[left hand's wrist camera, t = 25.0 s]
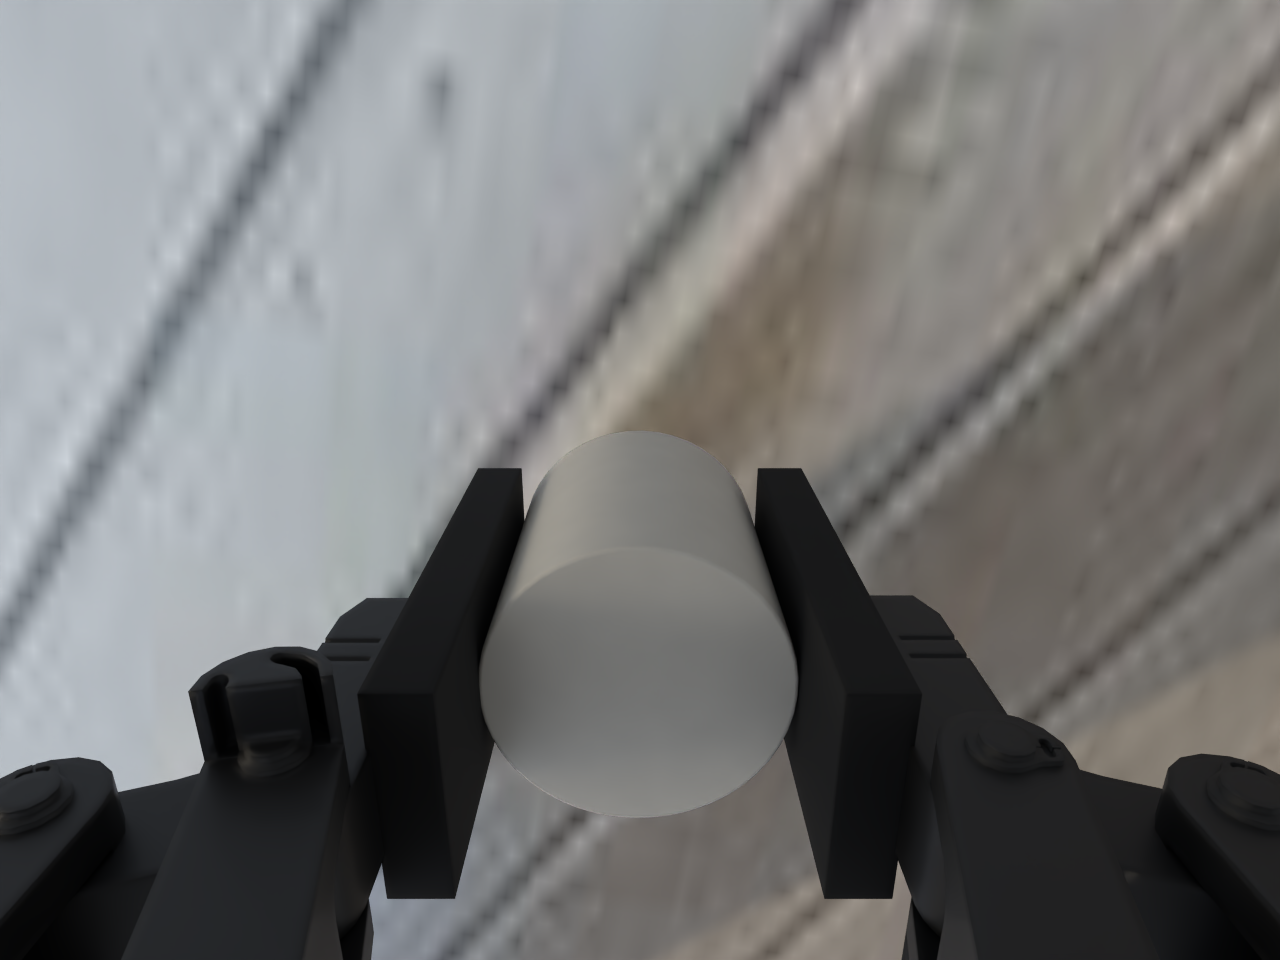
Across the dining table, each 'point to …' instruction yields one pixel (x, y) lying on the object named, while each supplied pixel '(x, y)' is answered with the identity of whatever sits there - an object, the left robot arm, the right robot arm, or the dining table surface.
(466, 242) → the dining table surface
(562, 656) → the can
